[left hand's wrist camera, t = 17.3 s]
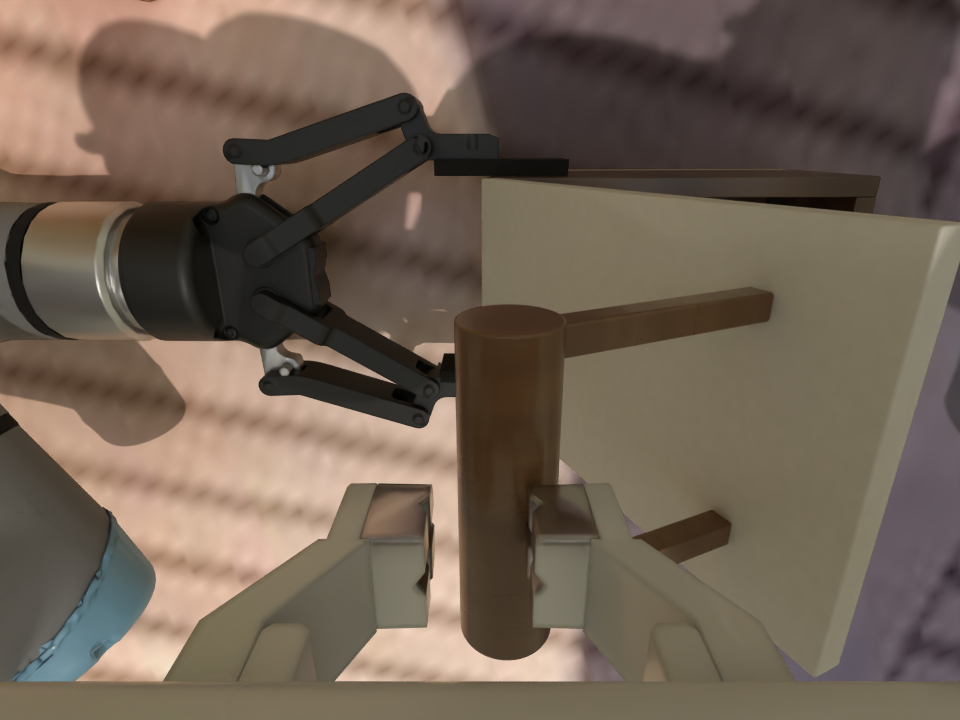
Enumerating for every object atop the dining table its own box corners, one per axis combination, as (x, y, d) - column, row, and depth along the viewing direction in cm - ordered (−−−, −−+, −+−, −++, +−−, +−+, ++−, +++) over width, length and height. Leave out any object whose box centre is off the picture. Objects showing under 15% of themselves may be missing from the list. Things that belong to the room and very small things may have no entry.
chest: (779, 168, 34) (882, 175, 25) (750, 331, 37) (831, 388, 28) (491, 169, 34) (489, 177, 25) (490, 330, 38) (489, 386, 29)
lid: (973, 223, 10) (564, 265, 6) (839, 665, 13) (536, 838, 10) (498, 178, 25) (307, 183, 22) (497, 389, 29) (333, 421, 25)
